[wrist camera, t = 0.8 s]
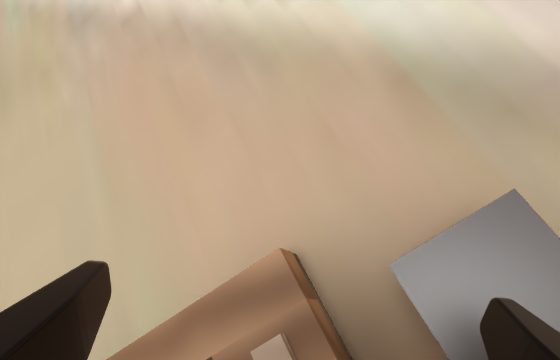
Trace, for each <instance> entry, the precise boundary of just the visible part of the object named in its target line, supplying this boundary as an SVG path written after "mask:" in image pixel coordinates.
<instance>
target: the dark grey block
mask: <svg viewBox="0 0 560 360" xmlns="http://www.w3.org/2000/svg"><path fill="white" fill-rule="evenodd" d="M388 266H389V268H390V269H391V271H392V272H393V274H394V275H395V277H396V278H397V280H398V282H399V283H400V285H401V286H402V288H403V289H404V291H405V292H406V294H407V295H408V297H409V298H410V300H411V302H412V303H413V305H414V306H415V308H416V309H417V311H418V312H419V314H420V315H421V317H422V319H423V320H424V322H425V323H426V325H427V326H428V328H429V329H430V331H431V332H432V334H433V335H434V337H435V339H436V340H437V342H438V343H439V345H440V346H441V348H442V349H443V351H444V352H445V354H446V356H447V357H448V359H449V360H488V357H487V353H486V350H485V347H484V343H483V340H482V337H481V333H480V322H481V319H482V317H483V315H484V313H485V310H486V308H487V306H488V304H489V302H490V300H491V299H492V298H495V297H499V298H509V299H512V300H514V301H515V302H517V303H518V304H520V305H521V306H523V307H524V308H525V309H527V310H528V311H530V312H531V313H533V314H534V315H535V316H537V317H538V318H540V319H541V320H542V321H544V322H545V323H547V324H548V325H550V326H551V327H552V328H554V329H555V330H557V331H558V332H560V238H559V237H558V236H557V235H556V234H555V232H554V231H553V230H552V229H551V228H550V227H549V226H548V225H547V224H546V223H545V221H544V220H543V219H542V218H541V217H540V216H539V215H538V214H537V213H536V212H535V210H534V209H533V208H532V207H531V206H530V205H529V204H528V203H527V202H526V201H525V199H524V198H523V197H522V196H521V195H520V194H519V193H518V192H517V191H516V190H515V188H514V189H513V190H511V191H509V192H508V193H506V194H505V195H503V196H501V197H500V198H498V199H496V200H495V201H493V202H491V203H490V204H488V205H486V206H485V207H483V208H481V209H480V210H478V211H477V212H475V213H473V214H472V215H470V216H468V217H467V218H465V219H463V220H462V221H460V222H458V223H457V224H455V225H453V226H452V227H450V228H449V229H447V230H445V231H444V232H442V233H440V234H439V235H437V236H435V237H434V238H432V239H430V240H429V241H427V242H426V243H424V244H422V245H421V246H419V247H417V248H416V249H414V250H412V251H411V252H409V253H407V254H406V255H404V256H402V257H401V258H399V259H398V260H396V261H394V262H393V263H391V264H389V265H388Z"/></svg>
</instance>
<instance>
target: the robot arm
mask: <svg viewBox="0 0 560 360" xmlns="http://www.w3.org/2000/svg"><path fill="white" fill-rule="evenodd" d="M110 297H111V282H110V274H109V267H108V264H107V263H106V262H103V261H87V262H85V263H83V264H81V265H80V266H78V267H76V268H75V269H73V270H71V271H69V272H68V273H66V274H64V275H63V276H61V277H59V278H58V279H56V280H54V281H53V282H51V283H49V284H47V285H46V286H44V287H42V288H41V289H39V290H37V291H36V292H34V293H32V294H31V295H29V296H27V297H26V298H24V299H22V300H20V301H19V302H17V303H15V304H14V305H12V306H10V307H9V308H7V309H5V310H4V311H2V312H0V360H87V359H88V356H89V354H90V351H91V349H92V346H93V343H94V341H95V338H96V335H97V333H98V330H99V327H100V325H101V322H102V319H103V316H104V314H105V311H106V308H107V306H108V303H109V300H110ZM480 333H481V337H482V340H483V343H484V347H485V350H486V353H487V357H488V360H560V332H558V331H557V330H555V329H554V328H552V327H551V326H550V325H548V324H547V323H545V322H544V321H542V320H541V319H540V318H538V317H537V316H535V315H534V314H533V313H531V312H530V311H528V310H527V309H525V308H524V307H523V306H521V305H520V304H518V303H517V302H515V301H514V300H512V299H509V298H499V297H495V298H492V299H491V300H490V302H489V304H488V306H487V308H486V310H485V313H484V315H483V317H482V319H481V322H480Z"/></svg>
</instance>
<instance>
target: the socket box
mask: <svg viewBox="0 0 560 360" xmlns="http://www.w3.org/2000/svg"><path fill="white" fill-rule="evenodd" d="M107 360H352V358H351V356H350V354H349V352H348V351H347V349H346V347H345V345H344V343H343V341H342V339H341V337H340V336H339V334H338V332H337V330H336V328H335V326H334V324H333V322H332V321H331V319H330V317H329V315H328V313H327V311H326V309H325V308H324V306H323V304H322V302H321V300H320V298H319V296H318V294H317V293H316V291H315V289H314V287H313V285H312V283H311V281H310V280H309V278H308V276H307V274H306V272H305V270H304V268H303V266H302V265H301V263H300V261H299V259H298V257H297V255H296V254H294V253H291V252H289V251H286V250H284V249H281V248H278V249H277V250H275V251H273V252H272V253H270V254H269V255H267V256H266V257H264V258H263V259H261V260H260V261H258V262H256V263H255V264H253V265H252V266H250V267H249V268H247V269H246V270H244V271H243V272H241V273H239V274H238V275H236V276H235V277H233V278H232V279H230V280H229V281H227V282H226V283H224V284H222V285H221V286H219V287H218V288H216V289H215V290H213V291H212V292H210V293H209V294H207V295H205V296H204V297H202V298H201V299H199V300H198V301H196V302H195V303H193V304H192V305H190V306H188V307H187V308H185V309H184V310H182V311H181V312H179V313H178V314H176V315H175V316H173V317H171V318H170V319H168V320H167V321H165V322H164V323H162V324H161V325H159V326H158V327H156V328H154V329H153V330H151V331H150V332H148V333H147V334H145V335H144V336H142V337H141V338H139V339H137V340H136V341H134V342H133V343H131V344H130V345H128V346H127V347H125V348H124V349H122V350H120V351H119V352H117V353H116V354H114V355H113V356H111V357H110V358H108V359H107Z"/></svg>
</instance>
